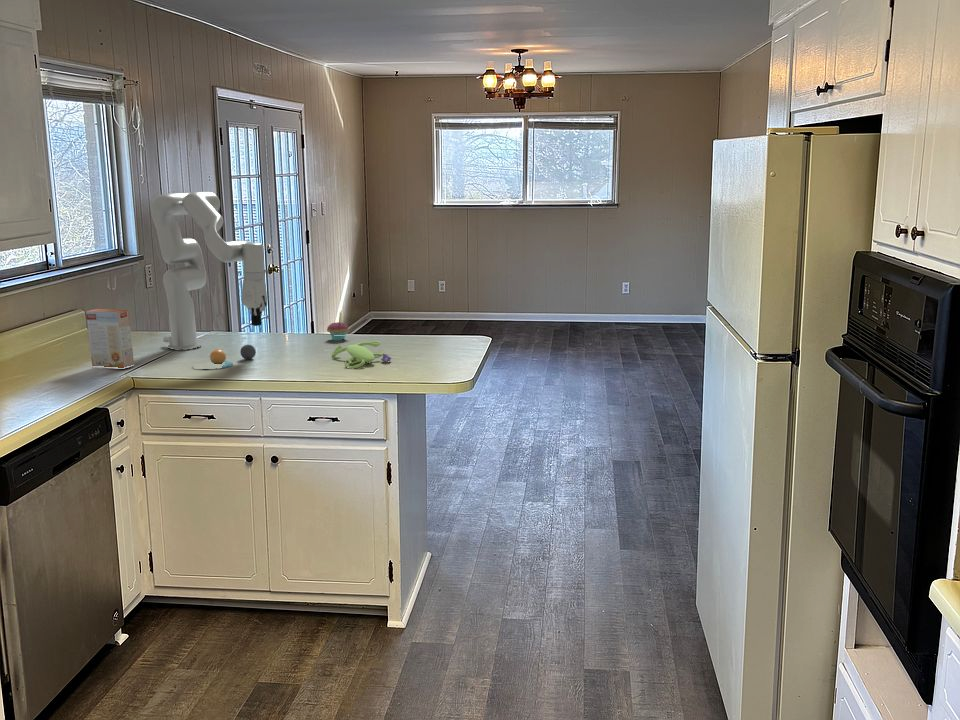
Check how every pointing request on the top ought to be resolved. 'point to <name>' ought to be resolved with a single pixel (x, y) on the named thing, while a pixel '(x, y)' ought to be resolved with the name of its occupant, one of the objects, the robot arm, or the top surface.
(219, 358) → the object ball
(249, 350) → the dark gray ball
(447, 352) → the top surface
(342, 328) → the cupcake
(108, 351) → the cracker box
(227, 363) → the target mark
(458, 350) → the top surface
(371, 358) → the figurine
